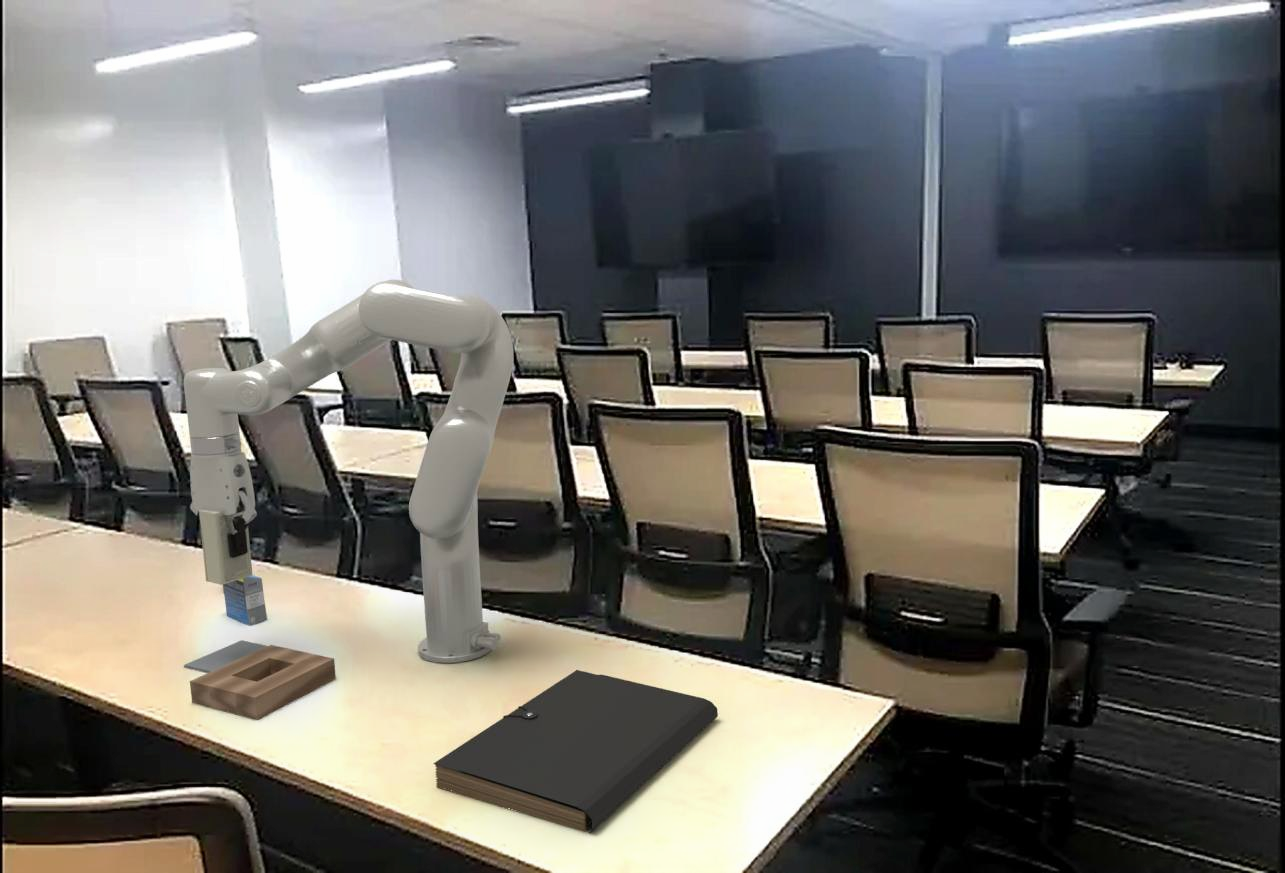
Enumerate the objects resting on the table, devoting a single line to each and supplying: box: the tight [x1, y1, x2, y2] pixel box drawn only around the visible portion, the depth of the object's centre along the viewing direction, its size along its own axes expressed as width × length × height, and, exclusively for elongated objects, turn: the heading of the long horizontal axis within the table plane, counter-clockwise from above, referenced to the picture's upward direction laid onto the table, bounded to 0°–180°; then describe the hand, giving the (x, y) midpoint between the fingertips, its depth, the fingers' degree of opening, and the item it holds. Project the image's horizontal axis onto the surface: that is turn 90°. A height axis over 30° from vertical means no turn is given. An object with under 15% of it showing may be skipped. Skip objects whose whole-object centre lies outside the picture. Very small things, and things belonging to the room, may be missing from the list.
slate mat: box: [183, 640, 268, 674], centre depth 179 cm, size 12×12×1 cm
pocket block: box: [189, 644, 337, 721], centre depth 166 cm, size 14×16×4 cm
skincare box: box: [199, 510, 253, 586], centre depth 175 cm, size 6×4×12 cm
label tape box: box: [222, 574, 268, 626], centre depth 198 cm, size 9×4×12 cm, turn 48°
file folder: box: [432, 669, 719, 834], centre depth 143 cm, size 33×4×24 cm
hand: (227, 552), depth 175 cm, fingers closed on skincare box, 4 cm apart
